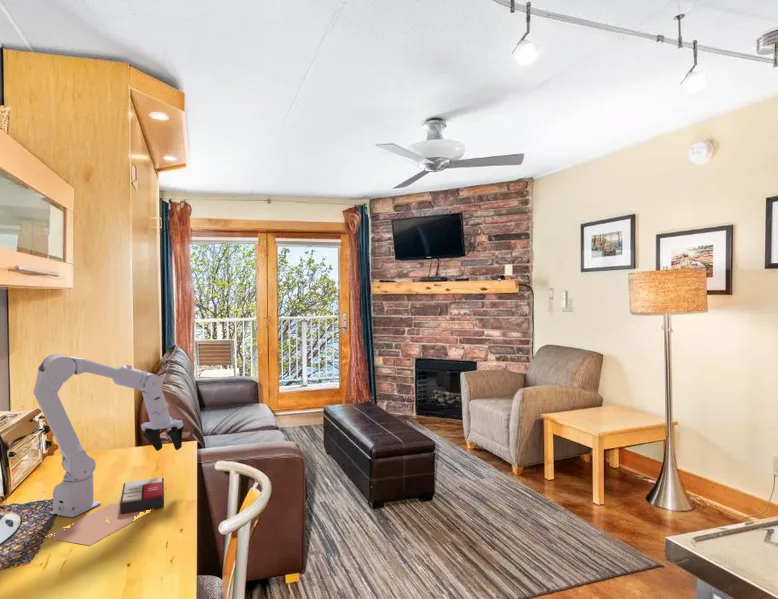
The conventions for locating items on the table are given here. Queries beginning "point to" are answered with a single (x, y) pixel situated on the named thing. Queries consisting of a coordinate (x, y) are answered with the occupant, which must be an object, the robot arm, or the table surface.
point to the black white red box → (142, 495)
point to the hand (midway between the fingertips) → (169, 449)
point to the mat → (95, 526)
